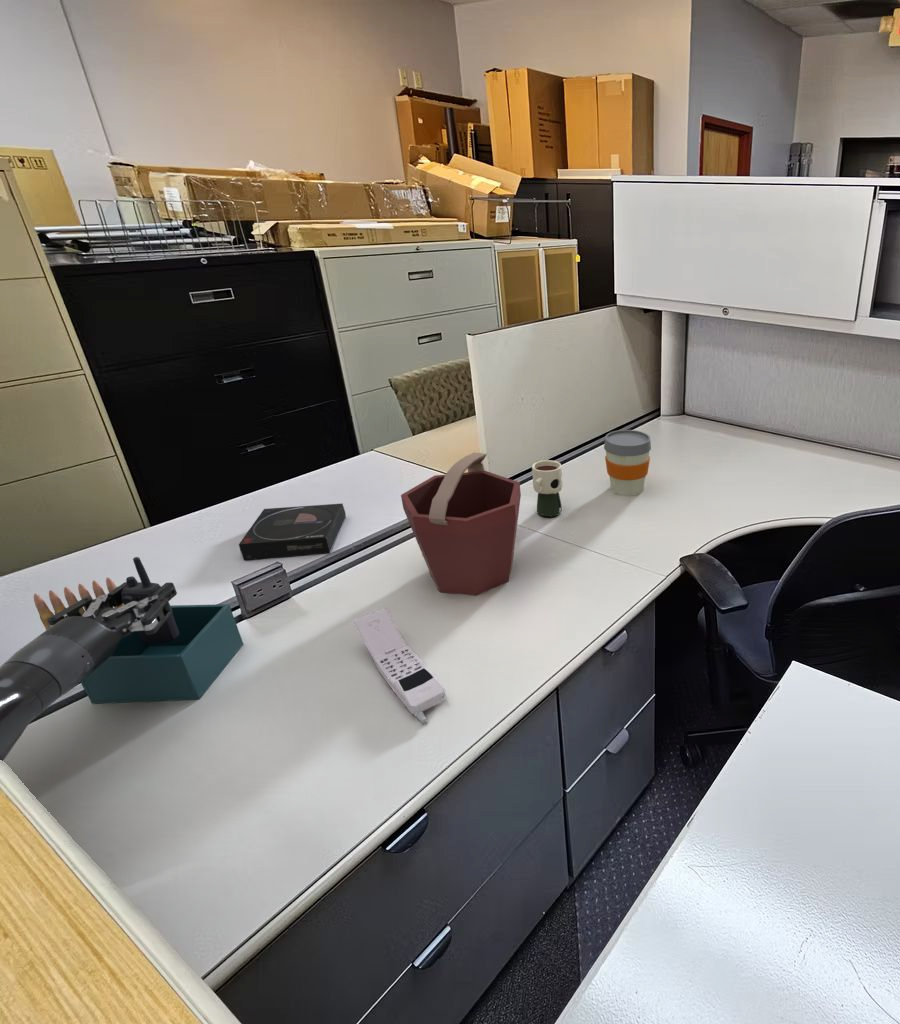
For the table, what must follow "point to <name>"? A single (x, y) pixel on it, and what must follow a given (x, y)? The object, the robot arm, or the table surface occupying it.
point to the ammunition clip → (68, 600)
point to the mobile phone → (399, 663)
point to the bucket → (465, 526)
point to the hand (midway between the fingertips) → (151, 587)
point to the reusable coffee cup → (627, 460)
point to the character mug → (547, 486)
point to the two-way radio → (140, 592)
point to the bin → (169, 659)
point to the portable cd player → (293, 532)
